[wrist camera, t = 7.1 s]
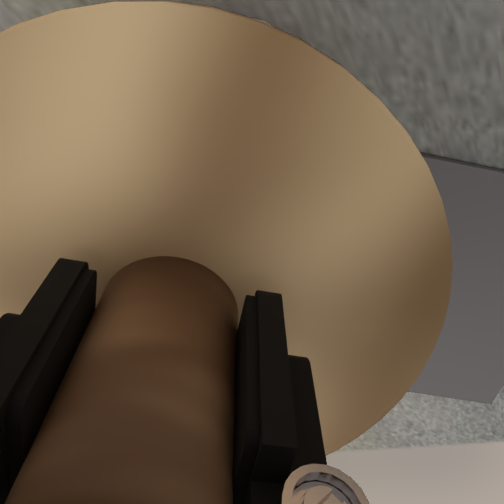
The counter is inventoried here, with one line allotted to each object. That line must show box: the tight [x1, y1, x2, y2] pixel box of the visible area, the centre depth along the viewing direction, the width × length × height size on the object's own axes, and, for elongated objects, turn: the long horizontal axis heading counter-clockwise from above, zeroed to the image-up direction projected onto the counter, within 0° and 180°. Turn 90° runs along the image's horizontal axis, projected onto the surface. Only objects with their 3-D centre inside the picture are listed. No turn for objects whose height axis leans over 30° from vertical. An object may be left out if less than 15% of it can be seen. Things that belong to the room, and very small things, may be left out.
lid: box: [0, 1, 453, 504], centre depth 9 cm, size 13×13×6 cm
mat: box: [408, 153, 504, 404], centre depth 29 cm, size 16×16×1 cm
